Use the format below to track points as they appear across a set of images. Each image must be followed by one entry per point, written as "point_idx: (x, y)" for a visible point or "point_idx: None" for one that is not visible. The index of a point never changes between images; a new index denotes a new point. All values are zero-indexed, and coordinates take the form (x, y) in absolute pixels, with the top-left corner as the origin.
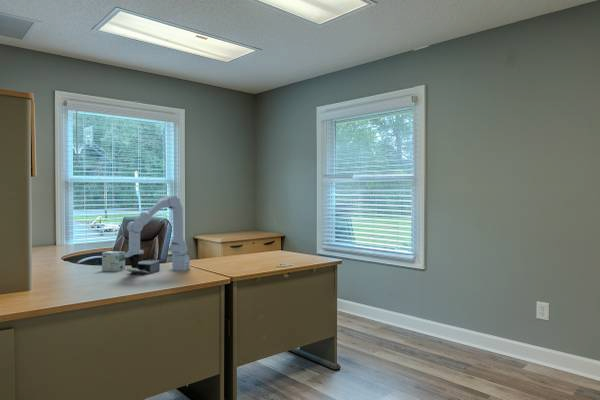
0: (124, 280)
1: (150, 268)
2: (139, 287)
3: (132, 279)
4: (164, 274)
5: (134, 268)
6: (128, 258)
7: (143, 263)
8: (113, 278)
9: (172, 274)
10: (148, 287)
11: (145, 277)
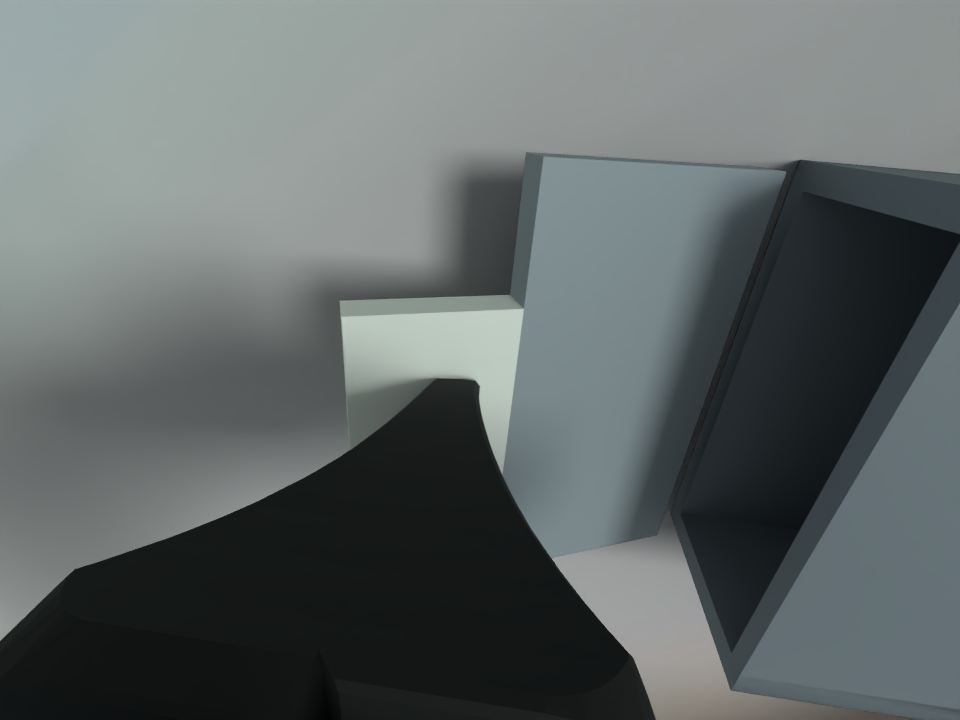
0: (137, 352)
1: (700, 596)
2: (8, 613)
3: (247, 425)
4: (671, 649)
5: None
6: (139, 561)
7: (878, 541)
8: (144, 57)
9: (677, 708)
10: None
11: None
